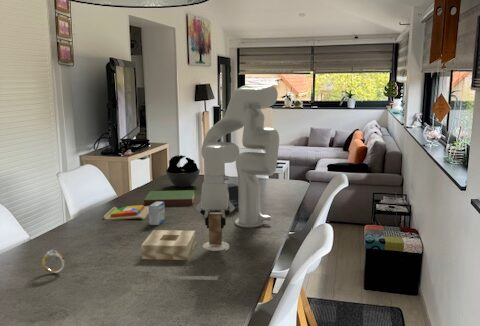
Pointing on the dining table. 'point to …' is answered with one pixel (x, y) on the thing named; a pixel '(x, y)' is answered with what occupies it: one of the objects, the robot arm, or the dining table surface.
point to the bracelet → (53, 252)
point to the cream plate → (216, 246)
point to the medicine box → (156, 213)
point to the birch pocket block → (168, 245)
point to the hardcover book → (170, 197)
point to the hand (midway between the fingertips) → (215, 226)
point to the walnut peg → (215, 228)
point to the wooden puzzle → (127, 212)
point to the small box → (232, 197)
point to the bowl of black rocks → (182, 172)
